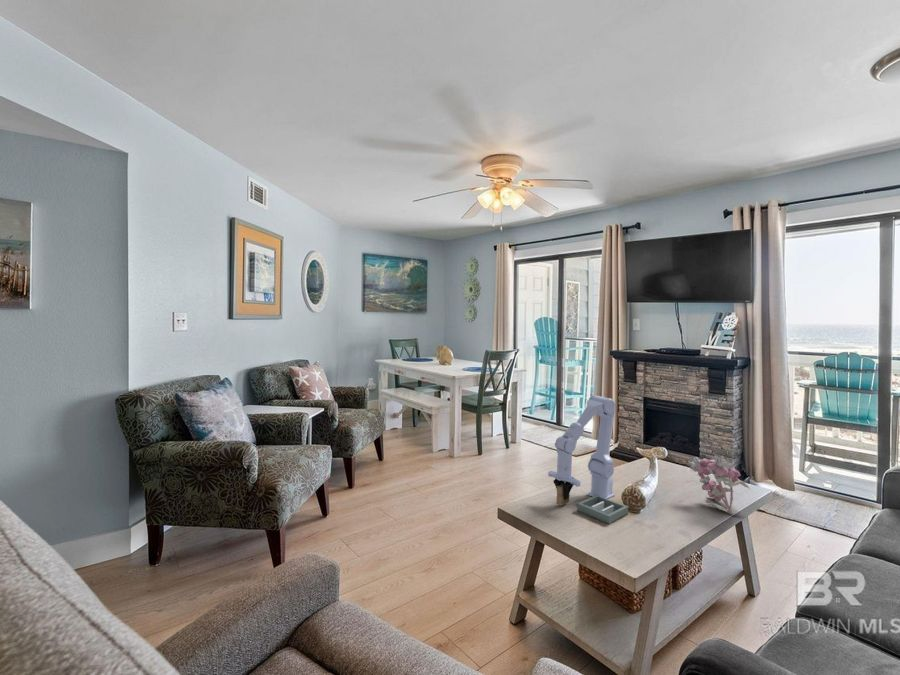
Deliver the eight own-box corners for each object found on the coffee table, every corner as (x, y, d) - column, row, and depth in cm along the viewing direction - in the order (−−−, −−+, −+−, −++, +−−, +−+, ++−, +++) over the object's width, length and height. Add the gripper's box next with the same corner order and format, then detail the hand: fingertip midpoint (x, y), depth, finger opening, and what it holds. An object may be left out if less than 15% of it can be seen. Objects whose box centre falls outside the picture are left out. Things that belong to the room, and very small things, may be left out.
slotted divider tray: (596, 502, 186) (596, 494, 186) (627, 514, 176) (628, 506, 175) (577, 511, 177) (577, 503, 177) (609, 524, 167) (609, 516, 166)
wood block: (565, 500, 185) (565, 482, 185) (569, 501, 184) (569, 484, 183) (556, 503, 182) (557, 486, 181) (560, 505, 180) (561, 487, 180)
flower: (769, 509, 179) (746, 449, 188) (743, 516, 167) (720, 451, 176) (721, 513, 194) (702, 456, 203) (694, 520, 182) (675, 459, 191)
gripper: (544, 462, 185) (543, 494, 186) (573, 473, 174) (572, 506, 175) (554, 459, 189) (553, 490, 190) (583, 469, 178) (582, 502, 179)
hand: (563, 497), depth 183 cm, fingers closed on wood block, 2 cm apart
